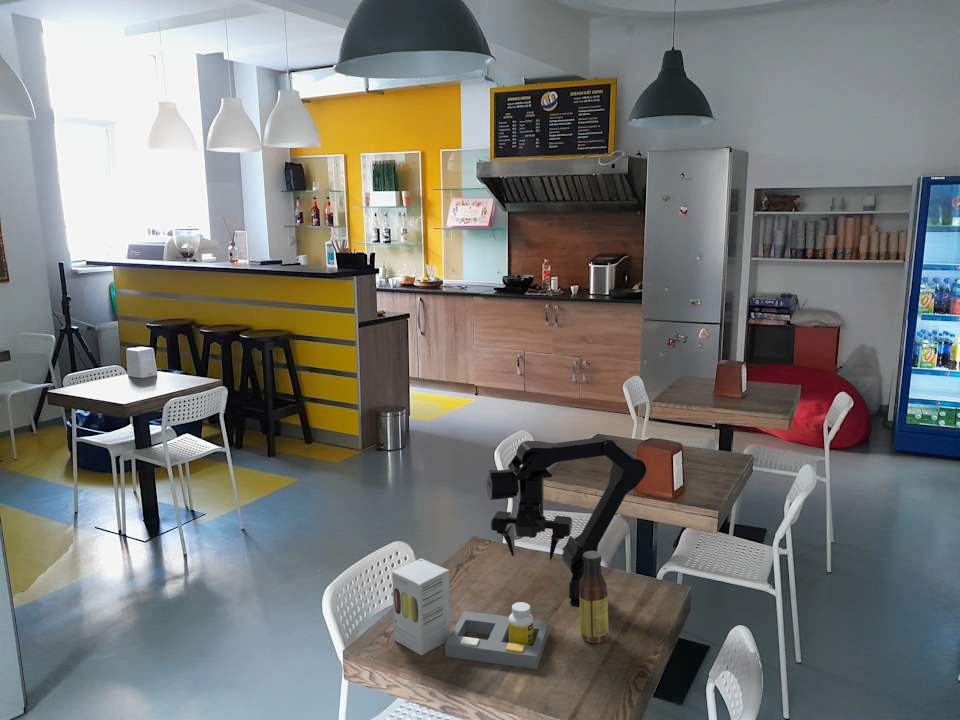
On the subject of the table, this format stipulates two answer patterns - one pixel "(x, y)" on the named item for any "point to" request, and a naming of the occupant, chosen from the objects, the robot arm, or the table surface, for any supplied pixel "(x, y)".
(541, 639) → the socket board
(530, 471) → the robot arm
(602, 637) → the sauce bottle
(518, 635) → the supplement bottle
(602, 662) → the table surface
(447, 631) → the supplement box
